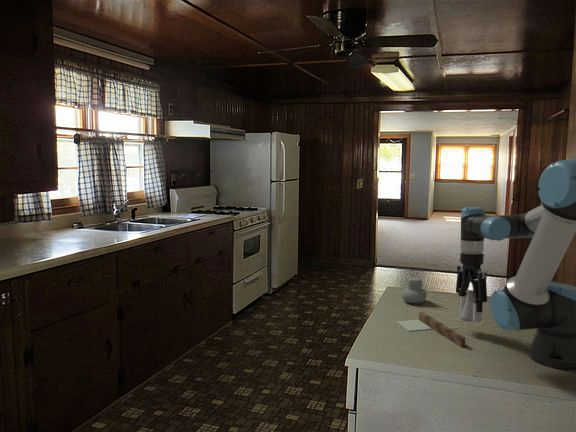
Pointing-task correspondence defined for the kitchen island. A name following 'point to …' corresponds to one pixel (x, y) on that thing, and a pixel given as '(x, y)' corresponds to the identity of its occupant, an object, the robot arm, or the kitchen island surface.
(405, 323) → the board
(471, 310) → the flask
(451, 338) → the rail
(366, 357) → the kitchen island surface
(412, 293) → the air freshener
